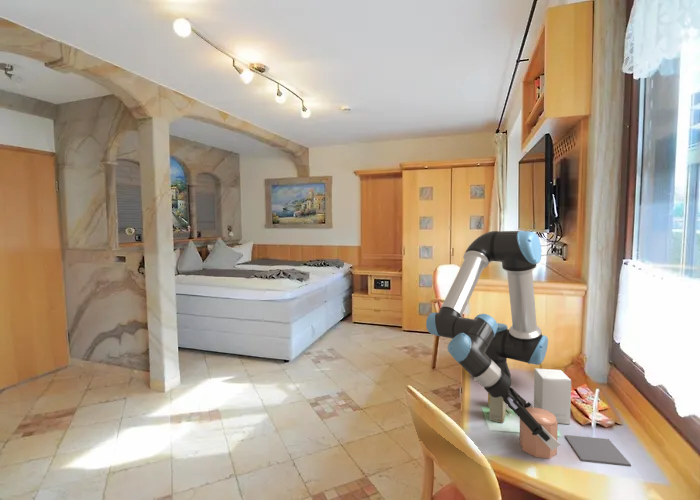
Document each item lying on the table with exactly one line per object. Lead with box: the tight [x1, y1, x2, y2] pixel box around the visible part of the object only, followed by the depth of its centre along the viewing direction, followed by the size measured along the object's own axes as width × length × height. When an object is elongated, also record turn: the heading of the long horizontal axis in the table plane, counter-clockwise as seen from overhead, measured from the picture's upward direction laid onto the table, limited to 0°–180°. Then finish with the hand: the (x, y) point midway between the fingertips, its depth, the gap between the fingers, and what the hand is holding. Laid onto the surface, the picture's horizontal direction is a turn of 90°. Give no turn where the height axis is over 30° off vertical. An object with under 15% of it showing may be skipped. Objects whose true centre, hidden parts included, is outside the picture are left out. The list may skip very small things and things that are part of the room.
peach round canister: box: [519, 406, 559, 460], centre depth 105 cm, size 9×9×10 cm
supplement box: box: [533, 367, 572, 425], centre depth 123 cm, size 9×9×15 cm
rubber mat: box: [564, 434, 632, 467], centre depth 105 cm, size 12×12×1 cm
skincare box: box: [488, 395, 507, 424], centre depth 123 cm, size 6×4×12 cm
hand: (549, 436), depth 105 cm, fingers open, 10 cm apart
